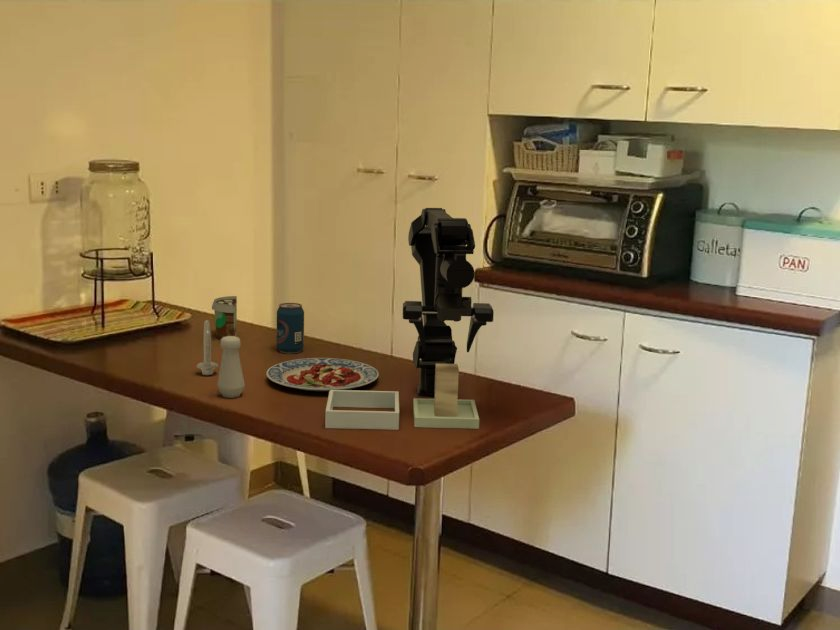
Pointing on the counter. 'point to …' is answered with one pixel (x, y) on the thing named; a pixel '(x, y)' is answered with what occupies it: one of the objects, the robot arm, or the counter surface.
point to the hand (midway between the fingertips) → (445, 351)
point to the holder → (362, 417)
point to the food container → (225, 316)
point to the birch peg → (446, 390)
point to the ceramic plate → (322, 374)
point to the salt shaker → (230, 368)
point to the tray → (427, 418)
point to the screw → (207, 352)
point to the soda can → (290, 328)
